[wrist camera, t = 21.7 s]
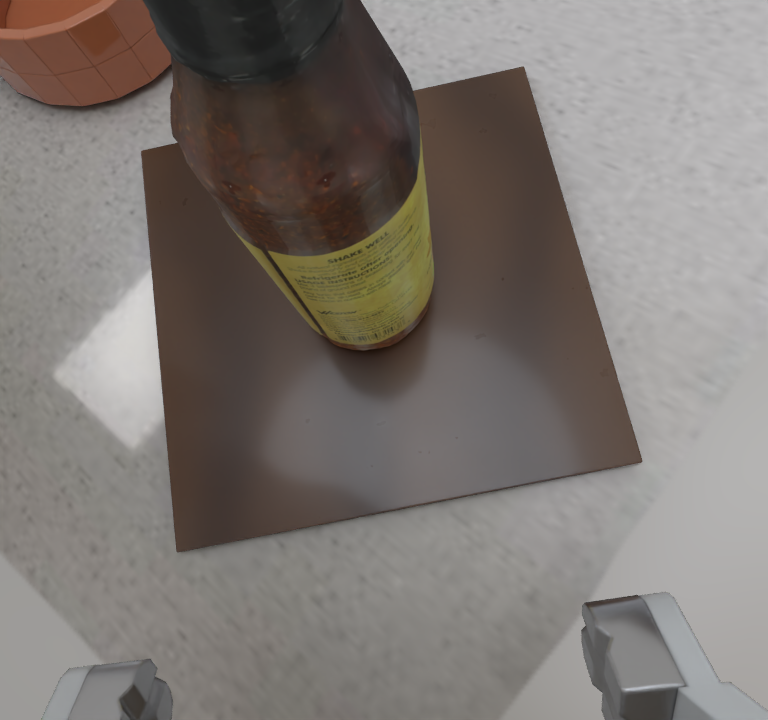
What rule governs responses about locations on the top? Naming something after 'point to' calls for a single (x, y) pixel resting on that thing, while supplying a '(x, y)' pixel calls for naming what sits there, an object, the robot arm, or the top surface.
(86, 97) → the bowl
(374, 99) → the sauce bottle
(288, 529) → the board
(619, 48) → the top surface
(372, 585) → the top surface
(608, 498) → the top surface
